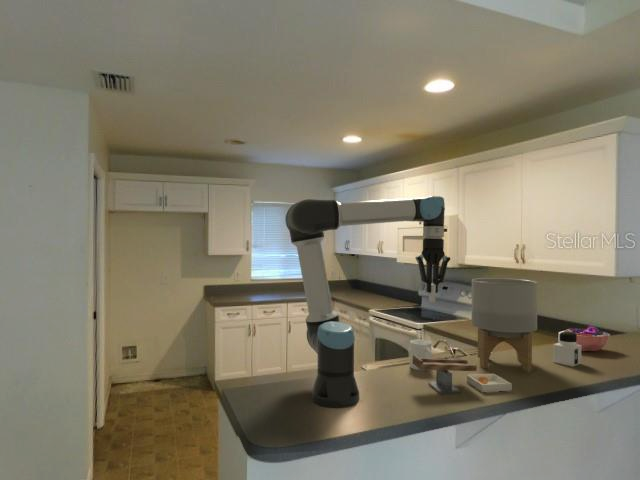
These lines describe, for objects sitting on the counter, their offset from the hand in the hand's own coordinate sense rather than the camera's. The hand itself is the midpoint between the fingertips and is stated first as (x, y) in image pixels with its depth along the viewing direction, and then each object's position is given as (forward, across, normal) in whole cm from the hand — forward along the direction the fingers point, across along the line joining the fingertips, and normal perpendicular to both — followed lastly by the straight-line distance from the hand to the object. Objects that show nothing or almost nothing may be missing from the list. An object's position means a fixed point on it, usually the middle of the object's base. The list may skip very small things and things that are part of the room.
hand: (431, 301), depth 157 cm
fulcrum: (+28, 0, -12) cm, 31 cm away
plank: (+21, 0, -9) cm, 23 cm away
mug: (+28, +1, +10) cm, 30 cm away
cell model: (+27, +88, +29) cm, 96 cm away
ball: (+26, +14, -12) cm, 32 cm away
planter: (+28, +37, +13) cm, 48 cm away
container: (+27, +64, +11) cm, 70 cm away
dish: (+28, +16, -12) cm, 34 cm away
